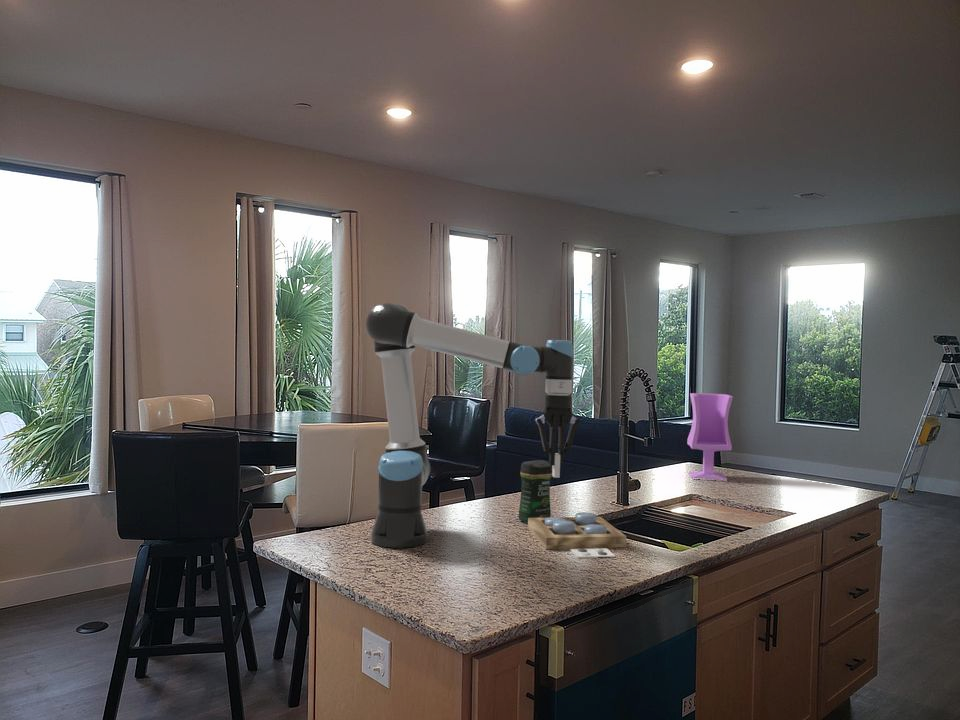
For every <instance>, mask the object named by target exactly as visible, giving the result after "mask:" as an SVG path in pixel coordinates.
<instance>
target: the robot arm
mask: <svg viewBox="0 0 960 720" xmlns="http://www.w3.org/2000/svg"><path fill="white" fill-rule="evenodd" d="M365 319H366V320H365V329H366V331H367V333H368V336H370V338H371V340H373V344H374V345H373V346H374V353H375V356H378V357H379V358H380V361H381V371H382V379H383V381H382V382H383V389H384V399H385V407H386V416H387V427H388V434H389V435H388V436H389V442H388V443H387V444H386V446H385V449H384V450H385V453H384V454H382V455H381V457H380V459H379V464H378V467H377V468H378V500H377V501H378V502H377V503H378V507H377V508H378V509H377V514H376V518H375V519H374V520H375V521H374V524H373V527H372V529H371V532H370V533H371V534H370V542H371V543H372V544H374V545H376V546H380V547H384V548H390V549H391V548H392V549H393V548H395V549H399V548H400V549H402V548H403V549H404V548H414V547H419V546H422V545H423V544H425V543H427V541H428V529H427V527H426V524H425V523H426V522H425V520H424V517H423V512H422V504H423V503H422V501H423V500H422V499H423V486H424V485H425V484H426V483H427V482H428V479H429V477H430V473H431V463H430V459H429V458H428V456H427V447H426V442H425V441H424V440H423V439H422V438H421V437H420V429H419V422H418V421H419V419H418V411H417V400H416V392H415V382H414V375H413V374H414V373H413V364H412V354H413V353H414V351H416V347H419V348H423V349H427V350H430V351H434V352H436V353H437V352H438V353H442V354H445V355H449V356H452V357H453V356H454V357H458V358H462V359H465V360H469V361H473V362H477V363H480V364H484V365H488V366H492V367H495V368H500V369H502V370H504V371H506V372H508V373H509V372H510V373H511V372H512V373H517V374H520V375H523V376H527V375H532V374H534V373H536V374H537V373H541V374H543V373H545V385H544V386H545V387H544V388H545V391H544V393H546V394H545V396H544V410H543V412H542V415H541V416H539V417H535V419H534V421H535V423H536V425H537V426H538V429H539V436H540V440H541V444H542V449H543V451H544V452H546V453H548V455H549V456H548V458H549V459H548V460H549V461H548V462H549V463H550V465H552V476H551V477H552V478H556V479H557V478H560V476H561V473H560V472H561V466H564V457H565V454H566V453H570V452H571V449H572V446H573V442H574V439H575V435H576V430H577V427H578V426H579V424H580V423H581V420H580V419H579V418H577V417H575V416H574V414H573V412H572V401H573V400H572V396H571V394H572V392H573V390H572V389H573V387H572V386H573V366H574V365H573V362H574V352H573V351H574V349H573V342H572V341H571V340H567V339H566V340H564V339H548V340H547V341H546V344H545V345H544V346H532V345H531V346H530V345H528V344H527V345H526V344H520V343H516V342H513V341H509V340H507V339H501V338H497V337H494V336H491V335H486V334H483V333H478V332H475V331H470V330H467V329H464V328H459V327H456V326H452V325H448V324H444V323H439V322H436V321H433V320H428V319H425V318H421V317H420V316H419V314H418V313H416V312H413V311H409V310H408V309H407V308H406V307H405V306H402V305H399V304H395V303H391V302H382V303H378V304H377V305H375V306H374V307H372V308H371V309H370V311H369V312H368V314H367V316H366V318H365ZM545 421H546V422H547V424H548V425H549V441H548V437H547V432H546V426H545V425H544V424H545ZM569 422H570V426H569V428H568V432H567V436H566V435H565V434H566V426H567V424H569ZM557 429H558V434H557ZM557 435H558V436H557ZM565 437H566V440H565ZM556 441H557V443H556ZM556 444H557V446H556ZM556 447H557V452H556Z"/></svg>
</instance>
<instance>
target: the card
mask: <svg viewBox="0 0 960 720" xmlns="http://www.w3.org/2000/svg"><path fill="white" fill-rule="evenodd" d="M569 551H570V552H571V553H572V554H573V555H574V556H575V558H577V559H599V558H598V557H610V558H616V554H614V553H613V552H611V550H610V549H609V548H581V549H569Z"/></svg>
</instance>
